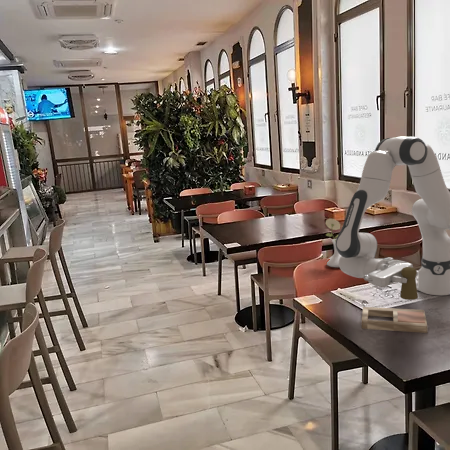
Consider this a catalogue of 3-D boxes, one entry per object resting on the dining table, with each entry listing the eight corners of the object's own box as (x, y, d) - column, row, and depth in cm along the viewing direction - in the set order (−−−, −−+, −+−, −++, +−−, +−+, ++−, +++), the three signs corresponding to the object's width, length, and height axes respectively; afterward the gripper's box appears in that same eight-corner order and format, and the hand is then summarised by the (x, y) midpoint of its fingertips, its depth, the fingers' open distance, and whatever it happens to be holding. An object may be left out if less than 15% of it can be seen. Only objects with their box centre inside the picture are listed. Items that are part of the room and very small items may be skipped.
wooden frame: (363, 312, 178) (363, 306, 177) (424, 316, 171) (424, 309, 170) (361, 328, 165) (361, 321, 165) (427, 332, 158) (427, 325, 157)
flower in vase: (353, 265, 234) (351, 218, 228) (337, 270, 228) (335, 222, 223) (334, 260, 245) (333, 215, 239) (319, 265, 239) (317, 219, 234)
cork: (413, 292, 167) (413, 264, 165) (420, 299, 161) (421, 269, 159) (397, 294, 167) (397, 266, 165) (404, 300, 161) (403, 271, 159)
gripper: (360, 270, 166) (394, 278, 155) (392, 256, 178) (425, 262, 167) (361, 286, 167) (395, 295, 156) (392, 271, 179) (425, 278, 168)
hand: (411, 278), depth 162 cm, fingers closed on cork, 4 cm apart
